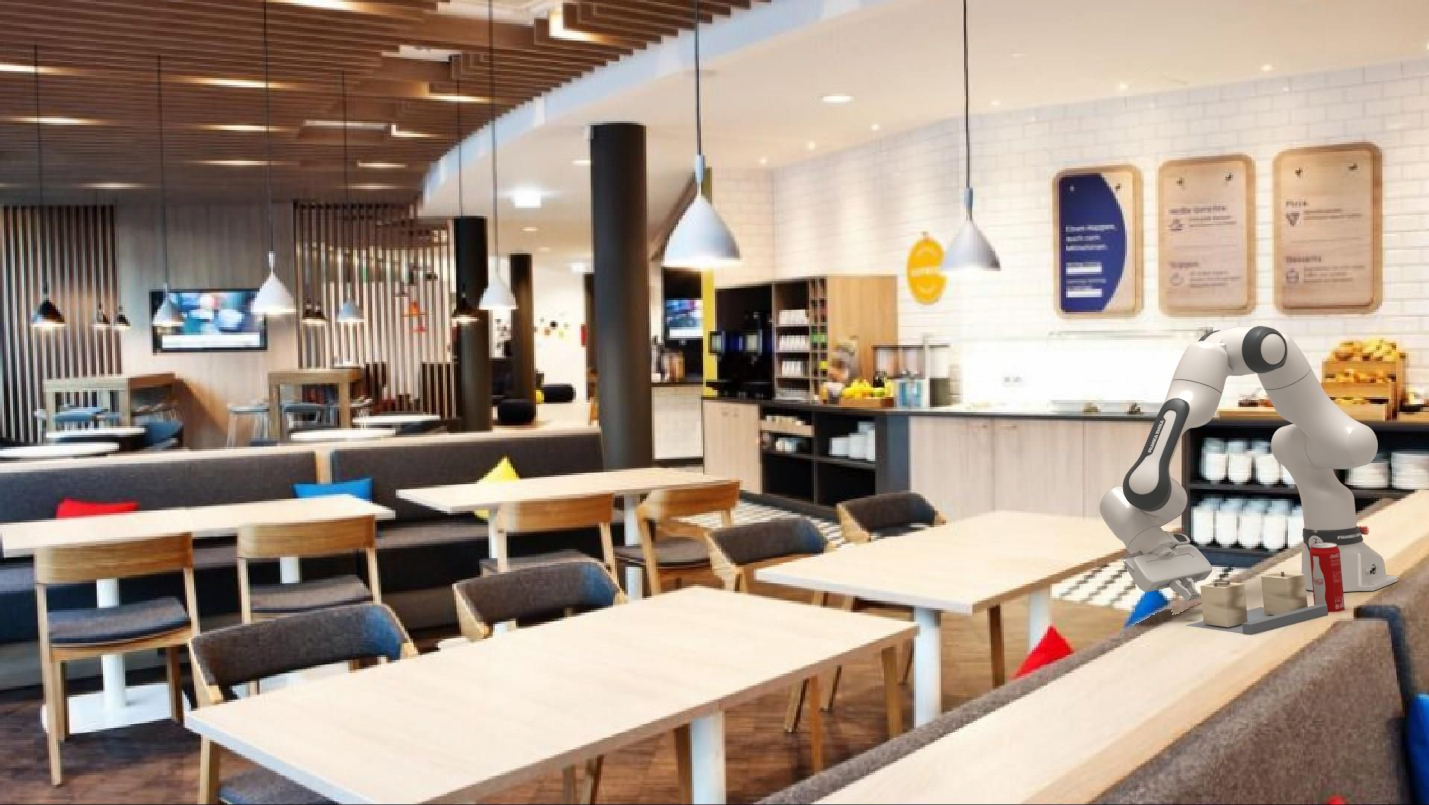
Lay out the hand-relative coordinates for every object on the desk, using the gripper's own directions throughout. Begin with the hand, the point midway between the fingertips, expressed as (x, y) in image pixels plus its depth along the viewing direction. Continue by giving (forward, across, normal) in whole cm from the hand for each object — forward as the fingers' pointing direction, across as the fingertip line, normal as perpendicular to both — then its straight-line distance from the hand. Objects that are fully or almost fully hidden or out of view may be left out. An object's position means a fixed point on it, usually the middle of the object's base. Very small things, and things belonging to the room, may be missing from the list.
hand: (1193, 598), depth 259 cm
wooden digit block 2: (+9, 0, -2) cm, 9 cm away
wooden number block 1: (+11, +15, -4) cm, 19 cm away
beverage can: (+14, +24, -6) cm, 29 cm away
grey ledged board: (+11, +7, -3) cm, 13 cm away
